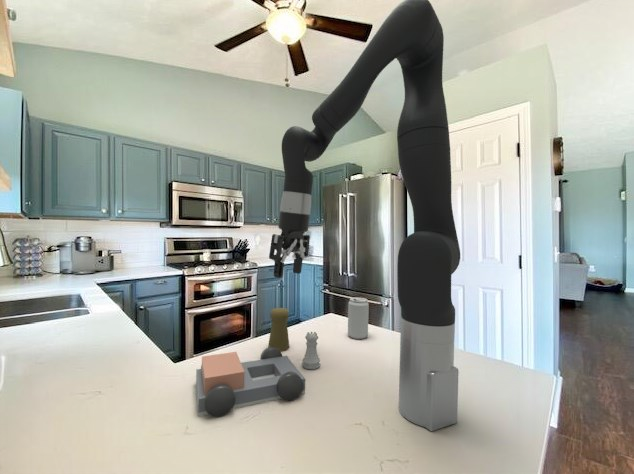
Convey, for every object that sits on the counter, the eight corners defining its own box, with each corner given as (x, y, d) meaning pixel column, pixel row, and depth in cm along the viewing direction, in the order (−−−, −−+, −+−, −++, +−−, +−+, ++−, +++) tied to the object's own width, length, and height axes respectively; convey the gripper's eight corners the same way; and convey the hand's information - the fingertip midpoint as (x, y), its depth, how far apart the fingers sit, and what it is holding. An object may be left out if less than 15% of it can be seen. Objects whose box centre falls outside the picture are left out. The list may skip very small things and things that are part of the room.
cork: (278, 353, 79) (279, 312, 79) (263, 347, 82) (264, 308, 82) (293, 347, 84) (294, 308, 83) (278, 341, 87) (279, 304, 87)
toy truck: (308, 397, 58) (308, 367, 58) (198, 421, 50) (199, 386, 50) (284, 365, 72) (284, 340, 72) (195, 380, 64) (196, 352, 64)
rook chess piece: (321, 362, 74) (321, 330, 74) (319, 370, 69) (320, 337, 69) (303, 361, 74) (304, 329, 74) (300, 369, 70) (301, 336, 70)
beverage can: (343, 334, 95) (344, 297, 95) (360, 332, 98) (361, 296, 98) (354, 341, 89) (355, 301, 89) (371, 338, 92) (372, 300, 92)
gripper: (292, 211, 65) (284, 282, 67) (321, 214, 78) (314, 274, 79) (265, 208, 69) (258, 275, 70) (297, 211, 81) (291, 269, 83)
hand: (287, 275), depth 75 cm, fingers open, 8 cm apart
